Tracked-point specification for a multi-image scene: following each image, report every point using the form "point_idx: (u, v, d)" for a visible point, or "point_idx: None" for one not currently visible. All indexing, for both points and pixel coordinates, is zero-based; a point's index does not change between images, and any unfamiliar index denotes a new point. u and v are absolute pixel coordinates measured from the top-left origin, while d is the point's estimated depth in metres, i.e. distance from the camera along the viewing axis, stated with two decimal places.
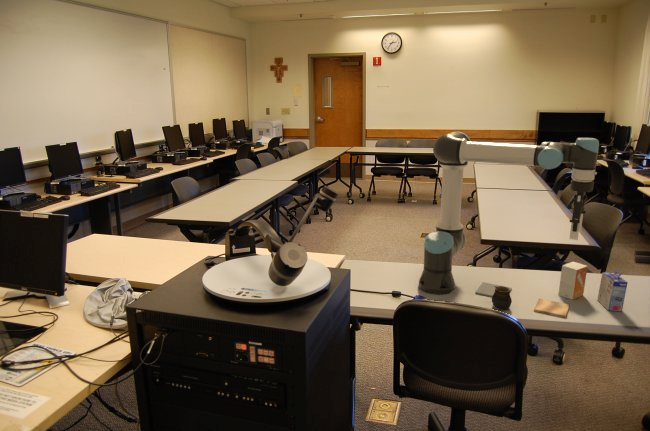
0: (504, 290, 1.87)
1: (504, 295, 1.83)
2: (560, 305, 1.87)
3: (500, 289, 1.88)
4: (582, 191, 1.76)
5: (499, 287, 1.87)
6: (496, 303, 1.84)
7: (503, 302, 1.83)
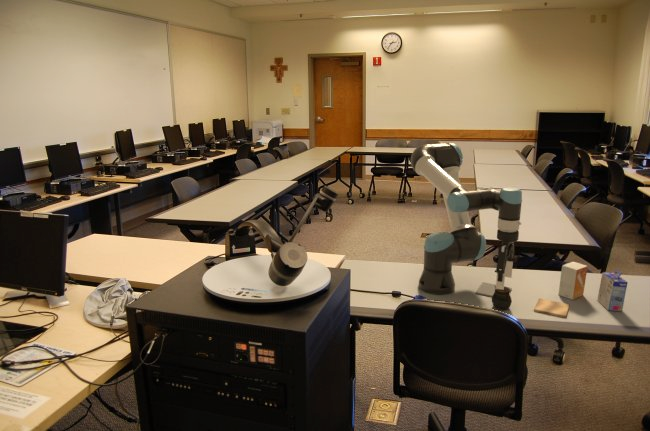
0: (504, 290, 1.87)
1: (504, 295, 1.83)
2: (560, 305, 1.87)
3: (500, 289, 1.88)
4: (507, 241, 1.76)
5: None
6: (496, 303, 1.84)
7: (503, 302, 1.83)
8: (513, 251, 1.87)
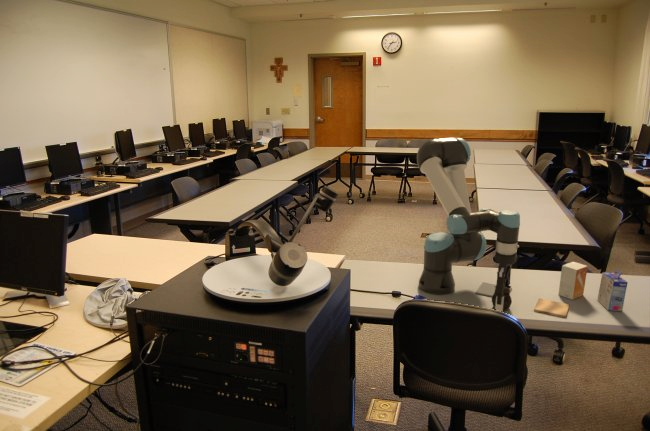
0: (504, 290, 1.87)
1: (504, 295, 1.83)
2: (560, 305, 1.87)
3: None
4: (505, 264, 1.78)
5: None
6: None
7: None
8: (509, 276, 1.88)
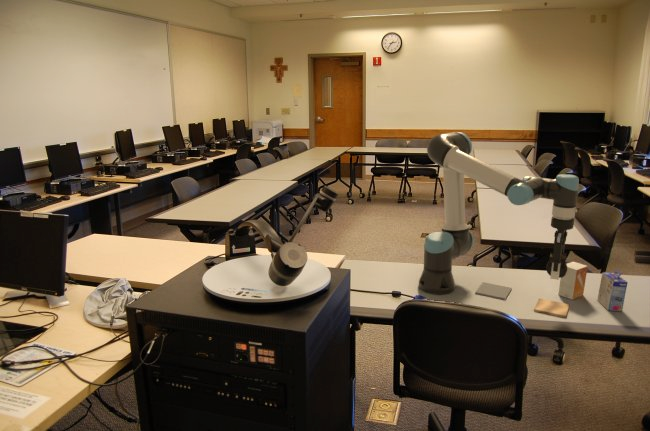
0: None
1: (560, 262, 1.78)
2: (560, 305, 1.87)
3: None
4: (562, 229, 1.73)
5: None
6: None
7: (560, 269, 1.78)
8: (564, 244, 1.83)
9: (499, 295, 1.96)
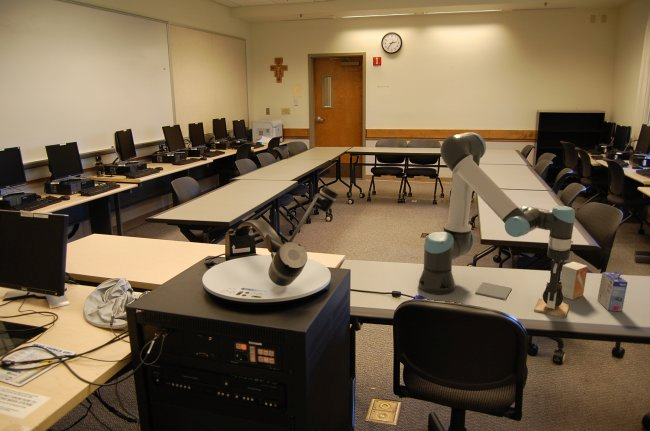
0: None
1: None
2: (560, 305, 1.87)
3: None
4: (558, 259, 1.77)
5: None
6: None
7: (556, 298, 1.81)
8: (560, 273, 1.86)
9: (499, 295, 1.96)
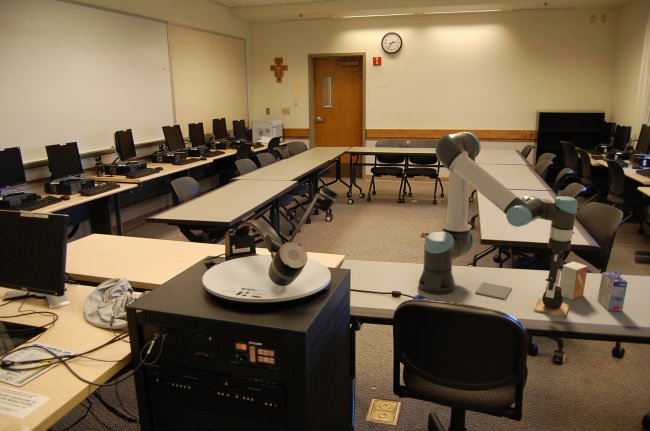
0: (555, 289, 1.85)
1: (556, 294, 1.81)
2: None
3: None
4: (559, 250, 1.76)
5: None
6: (548, 302, 1.83)
7: (555, 301, 1.81)
8: None
9: (499, 295, 1.96)
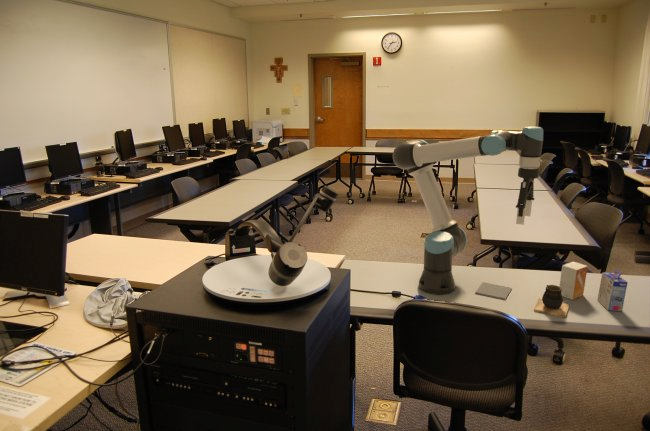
0: (555, 289, 1.85)
1: (556, 294, 1.81)
2: None
3: (550, 288, 1.86)
4: (528, 178, 1.84)
5: (550, 286, 1.86)
6: (547, 302, 1.83)
7: (555, 301, 1.81)
8: (532, 190, 1.95)
9: (499, 295, 1.96)
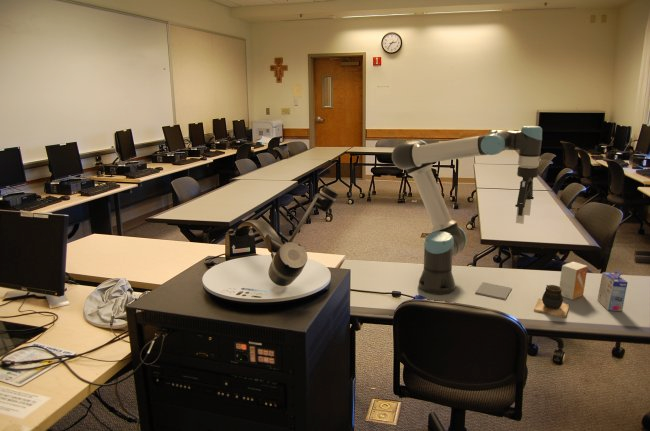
0: (555, 289, 1.85)
1: (556, 294, 1.81)
2: None
3: (550, 288, 1.86)
4: (527, 177, 1.84)
5: (549, 286, 1.86)
6: (547, 302, 1.83)
7: (555, 301, 1.81)
8: (532, 190, 1.95)
9: (499, 295, 1.96)
